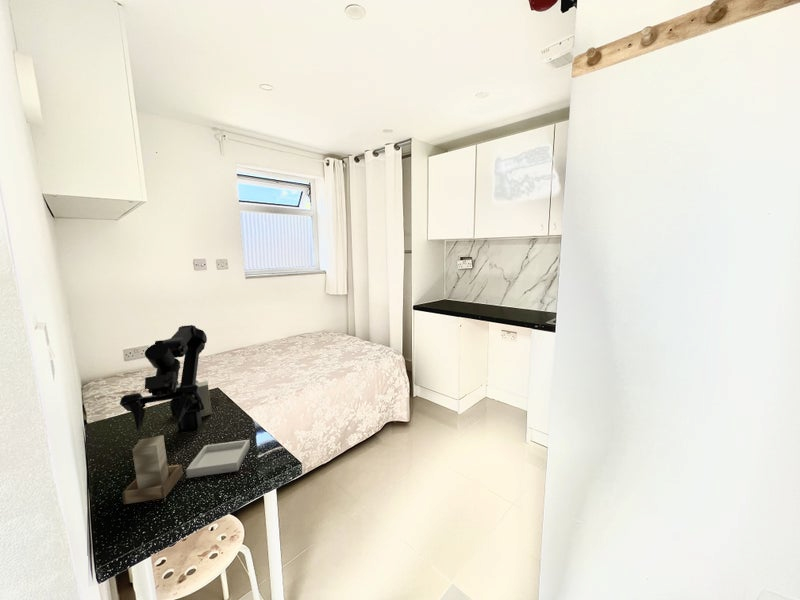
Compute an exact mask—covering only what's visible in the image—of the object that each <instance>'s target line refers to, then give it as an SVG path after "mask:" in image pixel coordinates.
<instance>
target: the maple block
mask: <svg viewBox="0 0 800 600" xmlns="http://www.w3.org/2000/svg"><path fill="white" fill-rule="evenodd" d="M131 451H132V456H133V457H132V458H133V463H134V470H135V476H136V478H137V485H138V489H143V488H150V487H156V486H162V485H163V484H164V482H165V481H166V480H167V479H168V478H169V472H168V466H169V465H168V461H167V460H168V458H167V451H166V445H165V437H164V434H163V435H162V434H161V435H157V436H153V437H152V436H151V437H147V438H141V439H140V440H139V441H138V442H137V444H135V446H134V447H132V449H131ZM136 478H135V479H136Z"/></svg>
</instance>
